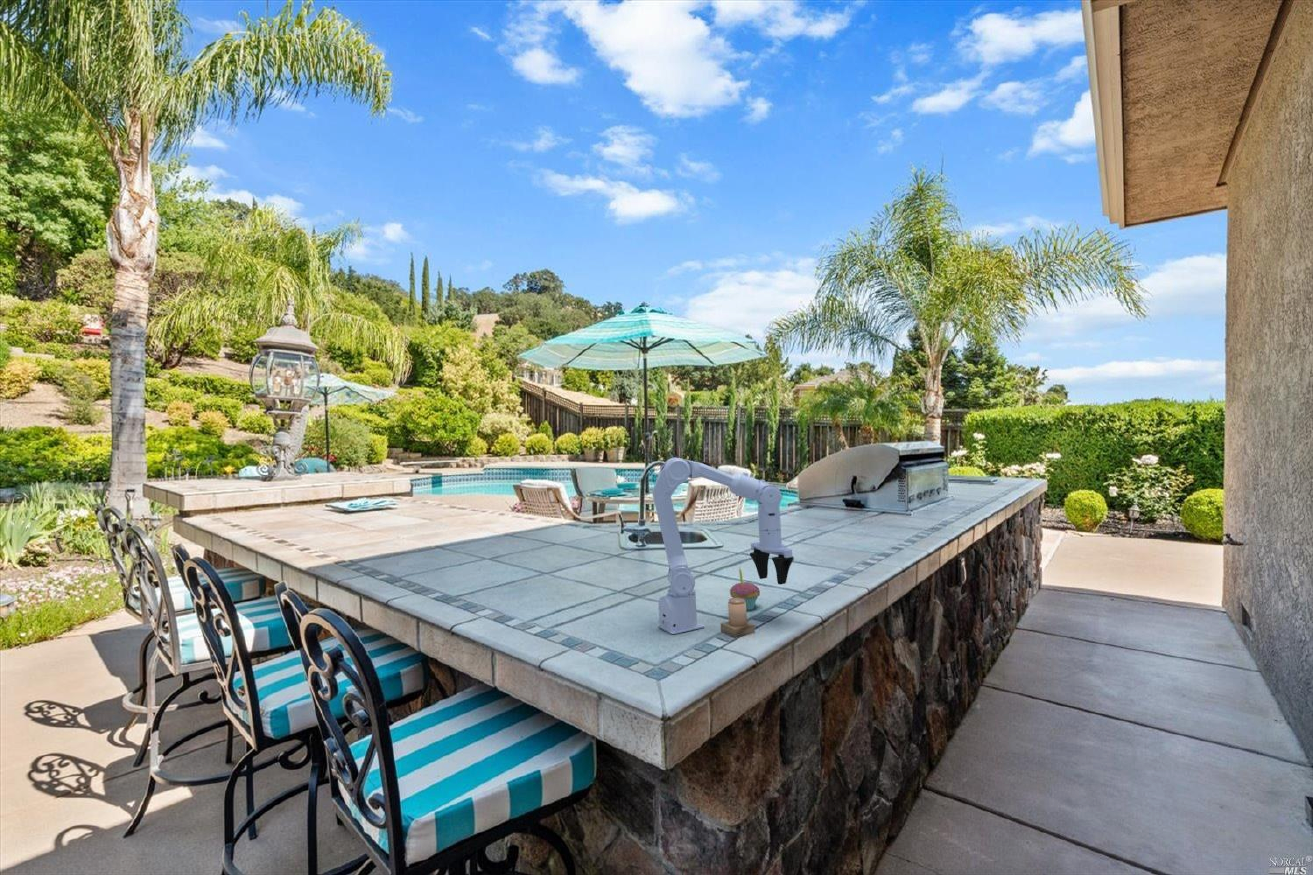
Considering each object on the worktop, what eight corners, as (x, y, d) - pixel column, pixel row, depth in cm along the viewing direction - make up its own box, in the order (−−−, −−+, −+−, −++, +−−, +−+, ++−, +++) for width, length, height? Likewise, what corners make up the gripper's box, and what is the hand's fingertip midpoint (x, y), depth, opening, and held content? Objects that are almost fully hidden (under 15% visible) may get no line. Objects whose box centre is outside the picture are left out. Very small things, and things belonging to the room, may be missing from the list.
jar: (735, 627, 141) (734, 603, 141) (725, 622, 145) (724, 599, 145) (750, 624, 143) (749, 600, 143) (740, 619, 147) (739, 596, 147)
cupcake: (751, 613, 158) (749, 570, 158) (724, 609, 163) (722, 567, 163) (765, 605, 165) (763, 563, 165) (739, 601, 170) (737, 561, 170)
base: (735, 637, 140) (734, 629, 140) (721, 631, 145) (720, 623, 145) (754, 632, 143) (754, 624, 143) (740, 626, 148) (739, 618, 148)
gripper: (800, 530, 147) (803, 583, 147) (764, 524, 160) (766, 573, 160) (778, 533, 144) (781, 588, 144) (743, 527, 157) (746, 577, 156)
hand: (772, 580), depth 151 cm, fingers open, 7 cm apart
